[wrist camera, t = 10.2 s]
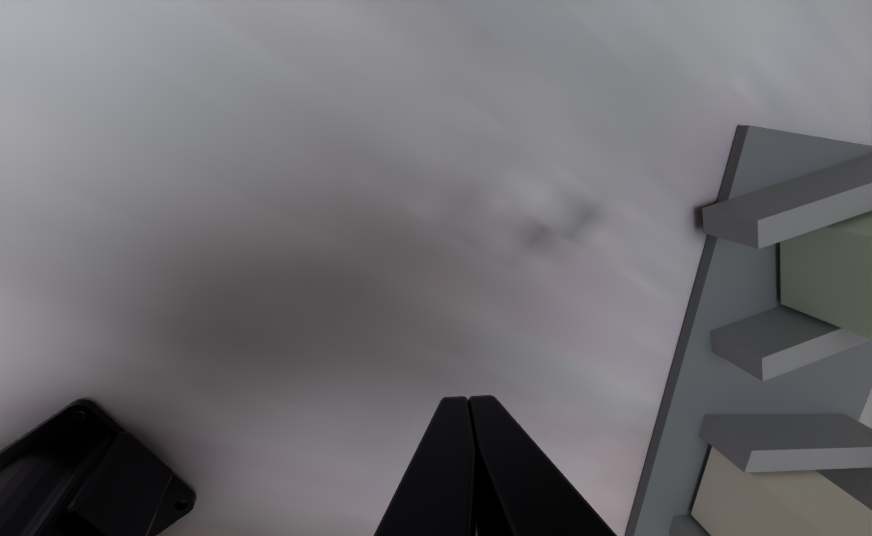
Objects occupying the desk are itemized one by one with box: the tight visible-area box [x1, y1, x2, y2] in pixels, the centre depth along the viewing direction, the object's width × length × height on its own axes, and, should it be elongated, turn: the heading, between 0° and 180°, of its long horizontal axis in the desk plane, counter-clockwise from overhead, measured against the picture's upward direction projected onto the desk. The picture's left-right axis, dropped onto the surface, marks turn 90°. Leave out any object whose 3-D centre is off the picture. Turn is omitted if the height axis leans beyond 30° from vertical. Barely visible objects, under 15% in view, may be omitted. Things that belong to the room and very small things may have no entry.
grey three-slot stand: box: [625, 126, 872, 536], centre depth 26 cm, size 14×36×5 cm, turn 173°
